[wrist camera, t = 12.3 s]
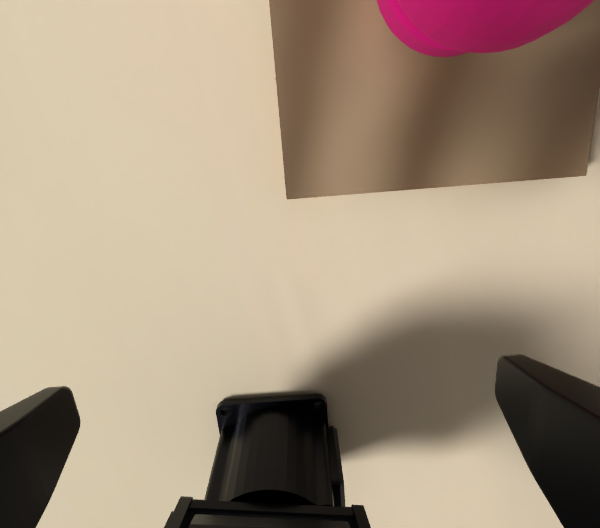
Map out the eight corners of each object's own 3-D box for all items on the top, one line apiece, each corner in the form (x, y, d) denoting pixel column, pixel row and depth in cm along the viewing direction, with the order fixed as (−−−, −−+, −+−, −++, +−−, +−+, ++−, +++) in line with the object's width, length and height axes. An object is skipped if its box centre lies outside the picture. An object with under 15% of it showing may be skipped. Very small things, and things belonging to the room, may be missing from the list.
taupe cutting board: (287, 195, 20) (286, 199, 19) (255, -166, 16) (252, -189, 14) (569, 172, 20) (586, 175, 19) (620, -200, 15) (646, -226, 14)
